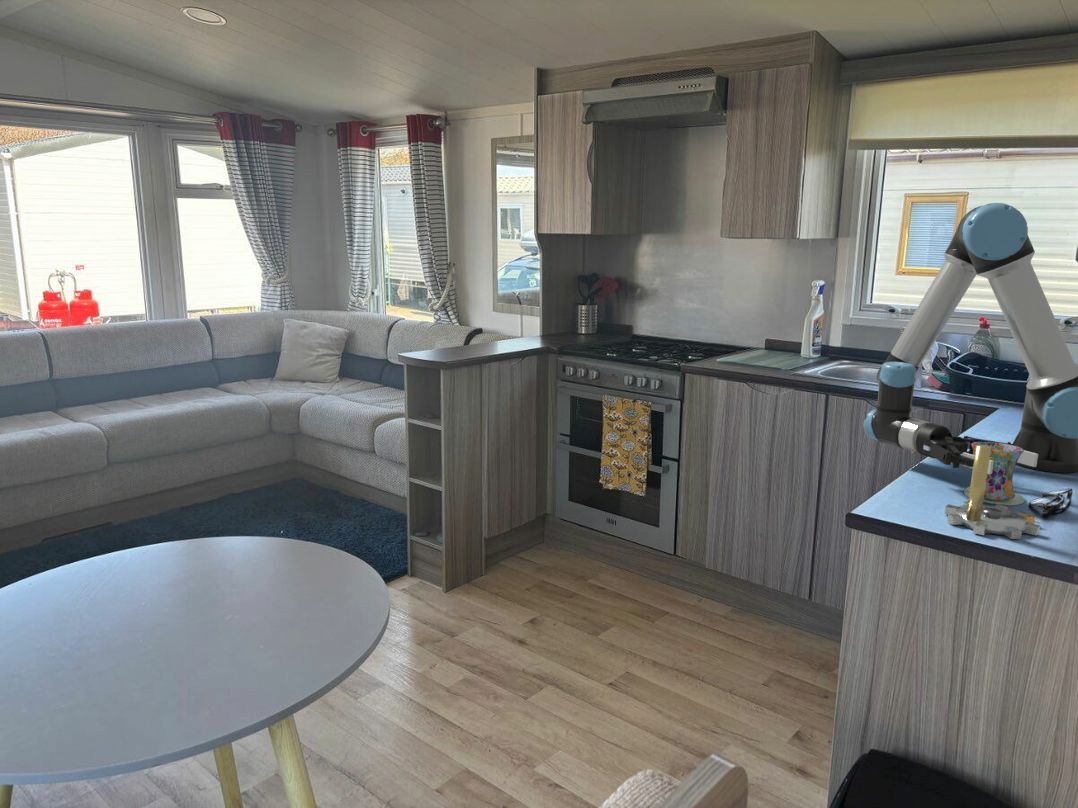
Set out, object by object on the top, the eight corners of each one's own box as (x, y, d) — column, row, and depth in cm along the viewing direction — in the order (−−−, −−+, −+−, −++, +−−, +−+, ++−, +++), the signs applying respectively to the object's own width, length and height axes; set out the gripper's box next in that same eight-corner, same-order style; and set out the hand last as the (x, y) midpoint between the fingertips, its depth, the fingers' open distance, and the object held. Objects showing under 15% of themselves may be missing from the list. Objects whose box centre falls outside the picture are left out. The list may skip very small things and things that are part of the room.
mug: (1027, 503, 160) (1034, 451, 158) (982, 502, 160) (989, 450, 158) (990, 488, 172) (997, 439, 170) (949, 487, 171) (954, 438, 170)
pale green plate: (987, 485, 174) (987, 483, 174) (1036, 501, 164) (1036, 499, 164) (952, 491, 170) (952, 489, 169) (1000, 508, 160) (1000, 506, 160)
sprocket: (981, 505, 160) (992, 430, 157) (1055, 531, 147) (1069, 450, 144) (927, 515, 154) (938, 437, 151) (1000, 543, 141) (1013, 458, 137)
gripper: (961, 449, 187) (1051, 474, 168) (883, 460, 177) (969, 488, 158) (966, 418, 185) (1056, 440, 167) (887, 427, 175) (974, 452, 156)
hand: (1014, 464), depth 162 cm, fingers open, 13 cm apart
